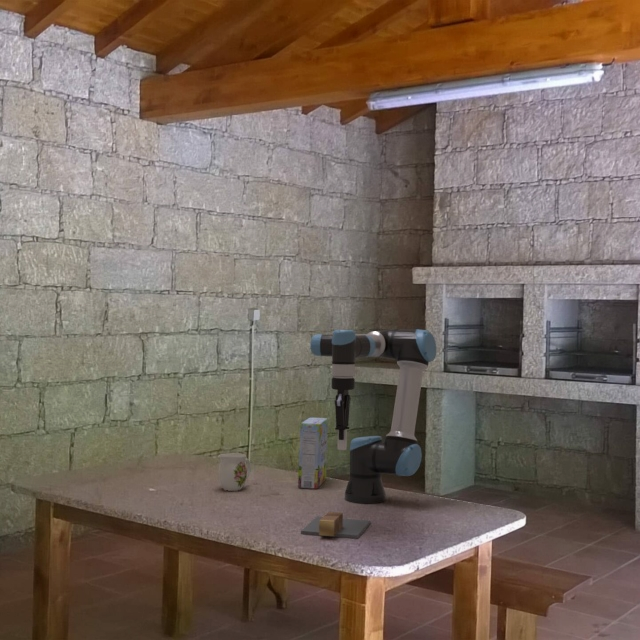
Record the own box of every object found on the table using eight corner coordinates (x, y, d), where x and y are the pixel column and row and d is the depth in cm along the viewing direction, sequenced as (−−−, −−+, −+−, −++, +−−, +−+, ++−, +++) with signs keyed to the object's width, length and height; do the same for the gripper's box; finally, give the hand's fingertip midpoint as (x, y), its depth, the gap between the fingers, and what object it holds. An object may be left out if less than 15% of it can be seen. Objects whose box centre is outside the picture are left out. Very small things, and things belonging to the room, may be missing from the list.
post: (329, 511, 275) (319, 520, 263) (342, 512, 274) (333, 521, 262) (328, 525, 275) (319, 535, 263) (342, 527, 274) (333, 536, 262)
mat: (317, 519, 287) (317, 516, 287) (370, 523, 283) (370, 520, 283) (300, 534, 268) (301, 530, 268) (357, 538, 264) (357, 535, 264)
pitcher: (260, 487, 339) (260, 452, 339) (228, 494, 325) (229, 458, 324) (239, 483, 346) (239, 449, 345) (207, 490, 331) (208, 454, 331)
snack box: (319, 489, 336) (320, 423, 336) (297, 488, 337) (298, 423, 337) (327, 479, 357) (328, 417, 357) (306, 478, 359) (307, 416, 359)
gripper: (336, 375, 288) (335, 446, 288) (327, 378, 276) (325, 451, 276) (358, 376, 286) (357, 447, 287) (350, 378, 274) (348, 453, 274)
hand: (342, 449), depth 281 cm, fingers closed
